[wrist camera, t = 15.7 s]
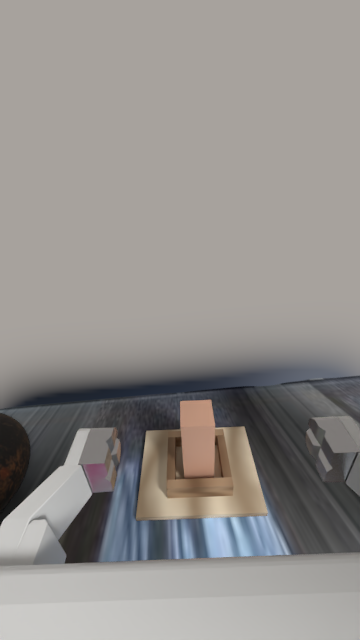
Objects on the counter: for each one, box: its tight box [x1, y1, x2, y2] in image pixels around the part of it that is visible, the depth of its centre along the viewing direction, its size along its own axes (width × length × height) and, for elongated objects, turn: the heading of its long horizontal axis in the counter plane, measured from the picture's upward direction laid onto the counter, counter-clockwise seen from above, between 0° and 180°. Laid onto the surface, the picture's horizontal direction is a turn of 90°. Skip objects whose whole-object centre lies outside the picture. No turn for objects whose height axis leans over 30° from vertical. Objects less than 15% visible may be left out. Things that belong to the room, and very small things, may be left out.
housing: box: [136, 427, 268, 521], centre depth 41 cm, size 18×14×3 cm
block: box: [180, 400, 215, 479], centre depth 39 cm, size 4×4×12 cm
